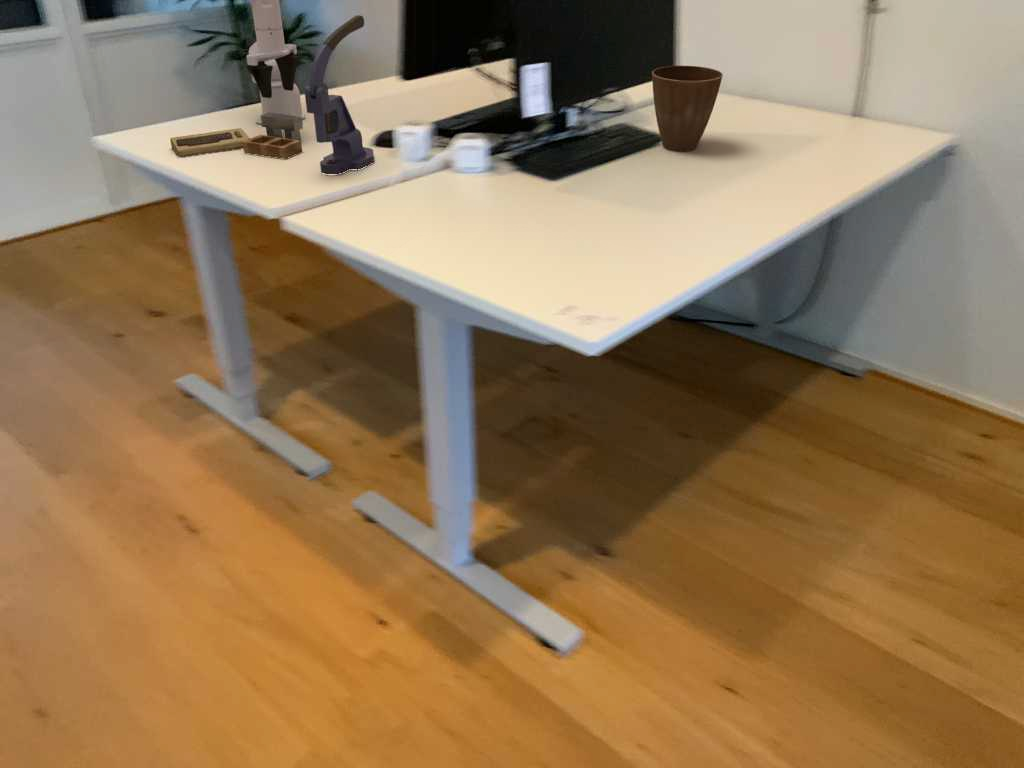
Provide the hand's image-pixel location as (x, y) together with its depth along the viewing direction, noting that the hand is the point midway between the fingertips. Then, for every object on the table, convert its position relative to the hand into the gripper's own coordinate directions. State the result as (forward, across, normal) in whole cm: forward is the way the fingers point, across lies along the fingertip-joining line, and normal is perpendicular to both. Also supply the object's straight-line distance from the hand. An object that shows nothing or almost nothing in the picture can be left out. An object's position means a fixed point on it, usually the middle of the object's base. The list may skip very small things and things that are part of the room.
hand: (277, 93), depth 188 cm
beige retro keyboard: (+11, -11, +11) cm, 19 cm away
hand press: (+11, -8, -23) cm, 27 cm away
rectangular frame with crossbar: (+10, -8, -4) cm, 14 cm away
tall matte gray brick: (+10, 0, 0) cm, 10 cm away
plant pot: (+11, +34, -83) cm, 90 cm away
